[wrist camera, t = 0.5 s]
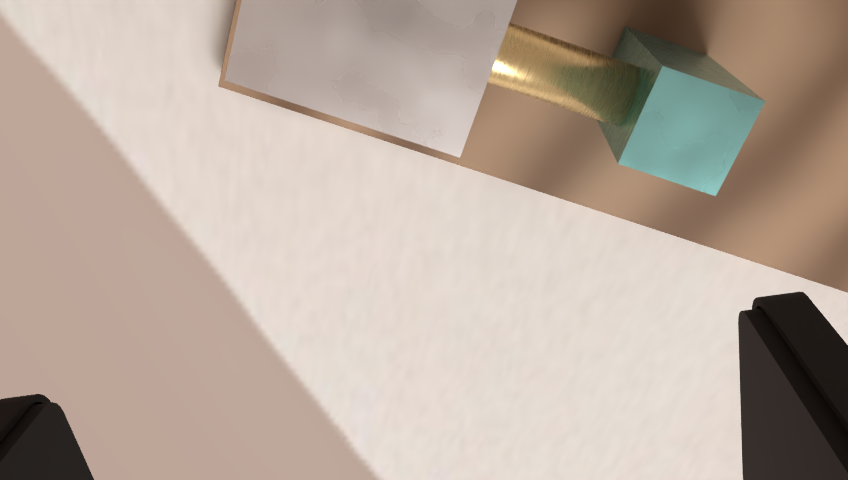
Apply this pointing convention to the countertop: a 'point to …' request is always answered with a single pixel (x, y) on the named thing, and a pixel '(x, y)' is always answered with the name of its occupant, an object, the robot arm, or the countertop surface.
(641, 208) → the walnut board
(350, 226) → the countertop surface
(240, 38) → the block
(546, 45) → the brass rod with block
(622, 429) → the countertop surface
